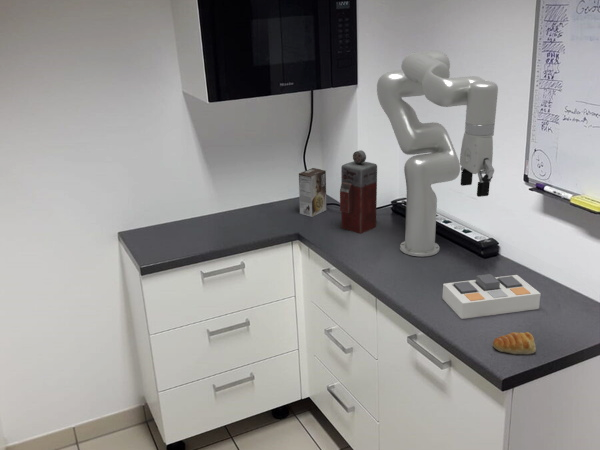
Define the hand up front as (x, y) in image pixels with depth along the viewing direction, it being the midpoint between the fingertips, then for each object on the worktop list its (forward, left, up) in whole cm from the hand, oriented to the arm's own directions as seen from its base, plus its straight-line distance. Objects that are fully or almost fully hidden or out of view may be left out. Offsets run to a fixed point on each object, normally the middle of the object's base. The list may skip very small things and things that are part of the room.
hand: (474, 190), depth 178 cm
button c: (+12, +6, -26) cm, 30 cm away
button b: (+12, 0, -25) cm, 28 cm away
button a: (+12, -7, -26) cm, 30 cm away
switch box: (+14, 0, -28) cm, 31 cm away
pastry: (+36, -5, -28) cm, 46 cm away
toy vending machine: (-50, -18, -28) cm, 60 cm away
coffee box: (-71, -29, -28) cm, 82 cm away
